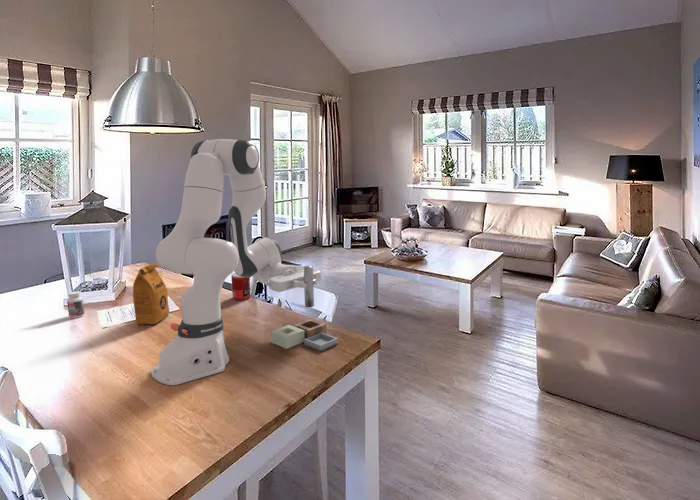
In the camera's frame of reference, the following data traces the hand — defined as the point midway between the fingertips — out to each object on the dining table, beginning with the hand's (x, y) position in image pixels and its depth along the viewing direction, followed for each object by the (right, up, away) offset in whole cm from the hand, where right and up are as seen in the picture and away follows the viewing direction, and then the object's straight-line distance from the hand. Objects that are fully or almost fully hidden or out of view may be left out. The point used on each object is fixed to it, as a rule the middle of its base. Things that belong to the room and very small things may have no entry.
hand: (310, 283), depth 155 cm
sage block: (-8, -20, -1) cm, 21 cm away
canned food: (-35, -10, +47) cm, 59 cm away
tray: (+4, -20, -3) cm, 21 cm away
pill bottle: (-95, -15, +25) cm, 100 cm away
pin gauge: (-1, -8, +2) cm, 8 cm away
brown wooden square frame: (0, -18, +4) cm, 19 cm away
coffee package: (-62, -16, +20) cm, 67 cm away
